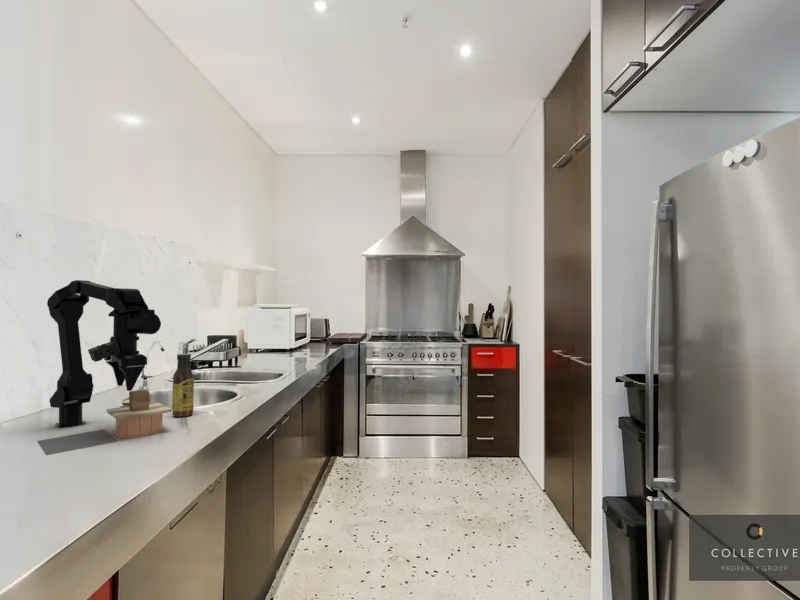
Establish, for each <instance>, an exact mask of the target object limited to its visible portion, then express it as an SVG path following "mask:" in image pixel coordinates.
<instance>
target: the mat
mask: <svg viewBox="0 0 800 600" xmlns="http://www.w3.org/2000/svg"><path fill="white" fill-rule="evenodd" d="M36 442H37V444H38V445H39V446H40V448H41V450H42V451H43V452H44V454H45V456H50V455H55V454H56V455H57V454H60V453H64V452H65V453H66V452H71V451H75V450H77V451H78V450H82V449H85V448H92V447H96V446H102V445H107V444H112V443H117V442H119V440H118V439H116V437H114V436H113V435H112V434H110V433H109V432H108V431H107V430H106V429H103V428H102V429H98V430H93V431H87V432H86V431H85V432H82V433H81V432H80V433H75V434H69V435H65V436H64V435H63V436H57V437H52V438H46V439H41V440H40V439H39V440H36Z"/></svg>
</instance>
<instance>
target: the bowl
mask: <svg viewBox="0 0 800 600" xmlns="http://www.w3.org/2000/svg"><path fill="white" fill-rule="evenodd" d="M162 429H163V413H162V414H156V415H150V416H144V417H138V418H132V419H126V420H120V421H119V420H117V419H116V418H115V434H116V436H117V437H119V438H137V437H139V438H140V437H146V436H151V435H154V434H156V433H157V434H158V433H160V432H161V431H162Z"/></svg>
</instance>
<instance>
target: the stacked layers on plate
mask: <svg viewBox="0 0 800 600" xmlns="http://www.w3.org/2000/svg"><path fill="white" fill-rule="evenodd" d="M120 403H121V404H123V405H121V406H120V407H126V406H129V398H128V399H125V400H123V401H120Z"/></svg>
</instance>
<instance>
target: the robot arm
mask: <svg viewBox="0 0 800 600" xmlns="http://www.w3.org/2000/svg"><path fill="white" fill-rule="evenodd" d="M90 298H93V299H97V300H100V301H103V302H105V304H106V305H107V306H109V307H111V308H112V311H110V312H109V313H108V317H113V328H112V331H113V333H112V334H113V335H112V336H111V337H110V338H109V341H108V342H106V343H102V344H100V345H99V344H98V345H96V346H93V347H91V348H89V349H87V352H88V354H89V357H90V359H91V361H92V362H95V363H96V362H100V361H102V360H104V361H105V363H106V364H108V365H109V366H110V367H111V368H112V370H113V374H114V378H115V381H116V384H117V387H122V386H123V385H124V383H125V386H126V387H125V388H126V391H128V392H129V391H133V389H134V387H135V384H136V383H137V381H138V380H139V377H140V375H141V373H142V371H143V370H144V369H145V368H146V366H147V365H148V357H147V356H146V355H145V354H142V353H140V351H139V350H138V341H140V336H138V335H139V334H140V335H154V334H157V333H158V332H159V330H160V329H161V327H162V326H161V325H162V321H161V319H160V318H159V316H158V315H157V314H155V313H156V312H155V311H156V310H155V309H150V308H149V305H148V304H147V303H146V301H145V299H144V297H143V295H142V294H141V291H140V290H139V289H137V288H119V287H118V288H117V287H112V286H107V285H103V284H101V283H96V282H92V281H90V280H82V279H81V280H78V279H77V280H76V279H75V280H72V281H71V282H70V283H69V284H68V285H66V286H63V287H61V288H59V289H57V290H56V291H54V292H53V293H52V295H50V297H48V299H47V303H46V304H47V307H48V311H49V316H50V317H51V318H52V319H53V320H54V321H55V323H56V324H57V330H58V337H59V339H58V340H59V346H60V347H59V348H60V359H61V367H62V369H61V370H62V372H61V375H60V376H59V377H58V380H57V382H56V390H55V392H54V393H53V394H52V396H51V397H50V399H49V405H50V407H51V408H56V409H58V422H55V427H57V428H58V429H63V428H64V429H65V428H70V427H71V428H72V427H77V426H81V425H87V423H86V422H85V421H84V420H83V404H86V403H90V402H91V400H92V399H91V398H92V395H93V392H94V388H95V387H94V383H93V375H92V373H88V372H86V371H85V369H84V366H83V365H84V364H83V357H82V355H83V354H82V347H81V337H80V329H79V328H80V326H79V321H80V319H81V318H82V316H83V314H84V306H86V305H87V304H88V302H90Z"/></svg>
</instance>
